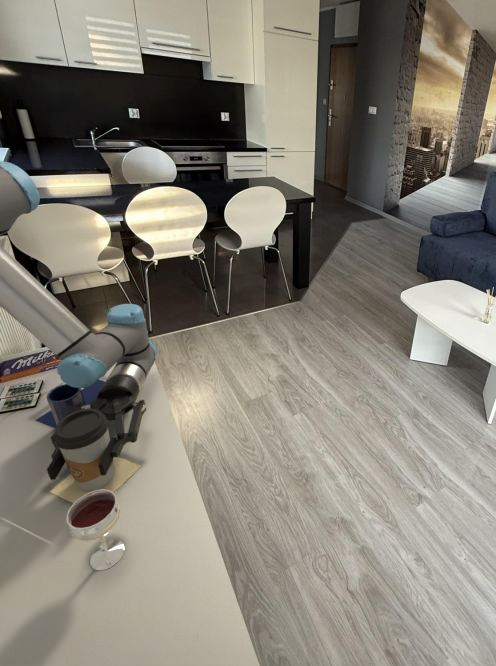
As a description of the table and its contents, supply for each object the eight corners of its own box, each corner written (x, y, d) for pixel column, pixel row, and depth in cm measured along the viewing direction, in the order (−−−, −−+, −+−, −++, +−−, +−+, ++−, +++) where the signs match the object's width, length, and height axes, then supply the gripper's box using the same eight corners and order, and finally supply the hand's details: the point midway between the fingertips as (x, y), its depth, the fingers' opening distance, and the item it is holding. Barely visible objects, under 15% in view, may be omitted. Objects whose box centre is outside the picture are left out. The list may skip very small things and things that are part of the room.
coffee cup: (61, 488, 76) (39, 431, 70) (99, 456, 84) (83, 401, 77) (94, 503, 74) (75, 446, 68) (130, 468, 82) (116, 413, 75)
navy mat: (35, 420, 91) (35, 420, 91) (98, 379, 105) (97, 379, 105) (78, 438, 87) (78, 437, 87) (136, 393, 101) (136, 392, 101)
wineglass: (80, 583, 63) (62, 536, 57) (86, 543, 68) (69, 497, 63) (129, 565, 66) (115, 519, 60) (131, 528, 71) (118, 483, 66)
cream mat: (49, 492, 76) (49, 491, 76) (100, 449, 85) (100, 449, 85) (93, 513, 73) (93, 512, 73) (141, 466, 82) (140, 466, 82)
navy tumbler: (52, 431, 88) (39, 397, 84) (77, 413, 93) (66, 380, 89) (72, 440, 87) (60, 405, 82) (96, 421, 92) (87, 387, 87)
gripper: (171, 397, 95) (141, 480, 75) (76, 403, 91) (18, 492, 71) (167, 372, 92) (134, 452, 72) (68, 377, 88) (5, 462, 68)
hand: (76, 472), depth 71 cm, fingers closed on coffee cup, 7 cm apart
